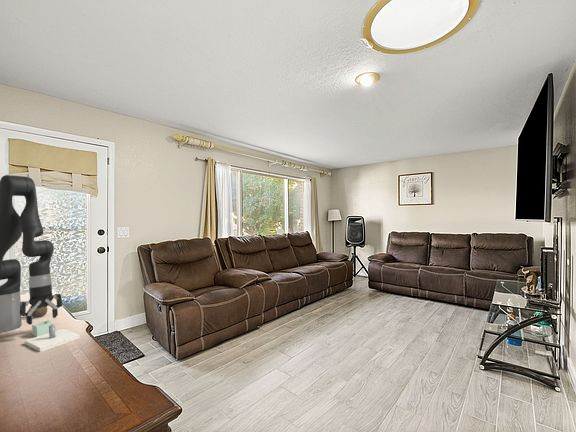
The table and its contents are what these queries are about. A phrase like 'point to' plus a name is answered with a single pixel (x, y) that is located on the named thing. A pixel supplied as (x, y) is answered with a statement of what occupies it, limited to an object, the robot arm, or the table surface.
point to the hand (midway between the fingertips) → (42, 320)
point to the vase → (39, 312)
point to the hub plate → (51, 339)
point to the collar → (41, 328)
